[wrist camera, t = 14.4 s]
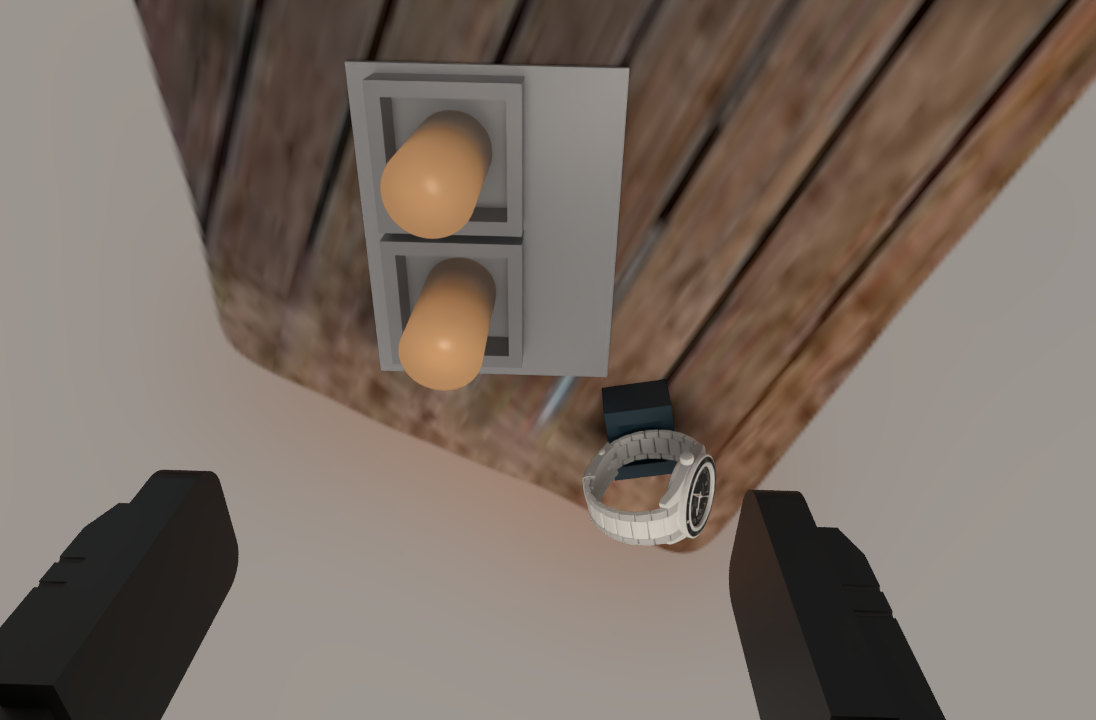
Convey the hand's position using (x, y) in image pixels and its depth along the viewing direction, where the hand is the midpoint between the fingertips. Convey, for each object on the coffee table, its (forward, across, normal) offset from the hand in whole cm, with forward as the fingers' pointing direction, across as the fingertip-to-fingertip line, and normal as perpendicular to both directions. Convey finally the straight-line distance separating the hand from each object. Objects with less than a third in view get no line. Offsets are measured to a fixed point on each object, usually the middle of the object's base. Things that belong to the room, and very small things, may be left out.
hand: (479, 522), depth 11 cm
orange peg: (+31, +5, +11) cm, 34 cm away
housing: (+32, +3, +7) cm, 33 cm away
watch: (+32, -7, +20) cm, 39 cm away
